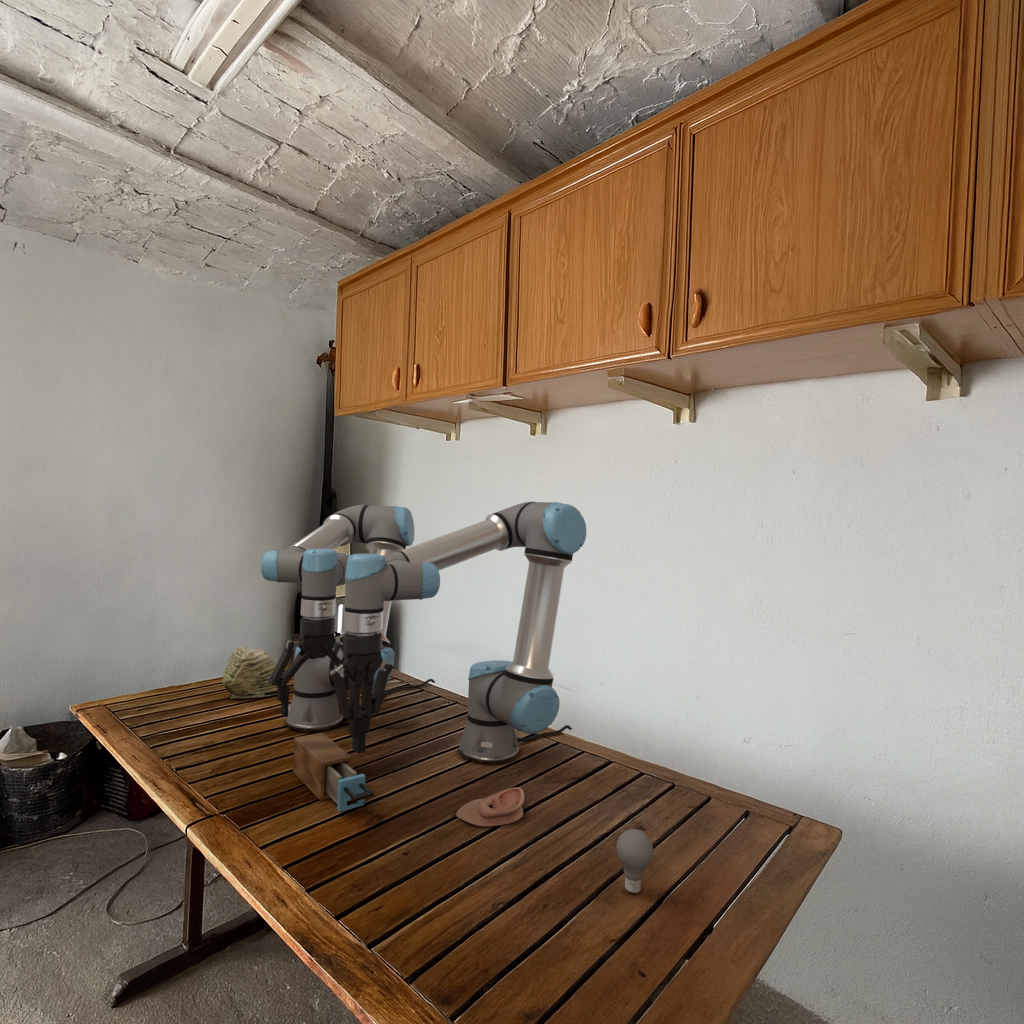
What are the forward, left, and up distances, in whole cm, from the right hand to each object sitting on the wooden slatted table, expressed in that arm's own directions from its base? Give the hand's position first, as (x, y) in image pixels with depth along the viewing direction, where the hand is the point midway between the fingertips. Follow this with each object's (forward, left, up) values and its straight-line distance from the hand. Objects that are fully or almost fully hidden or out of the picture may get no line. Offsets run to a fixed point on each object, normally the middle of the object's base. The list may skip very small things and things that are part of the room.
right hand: (358, 750), depth 126 cm
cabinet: (+3, -18, -13) cm, 23 cm away
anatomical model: (-25, +10, -13) cm, 30 cm away
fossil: (+8, -87, -13) cm, 88 cm away
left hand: (+4, -23, +1) cm, 24 cm away
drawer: (+1, -7, -13) cm, 14 cm away
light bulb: (-35, +43, -13) cm, 57 cm away
